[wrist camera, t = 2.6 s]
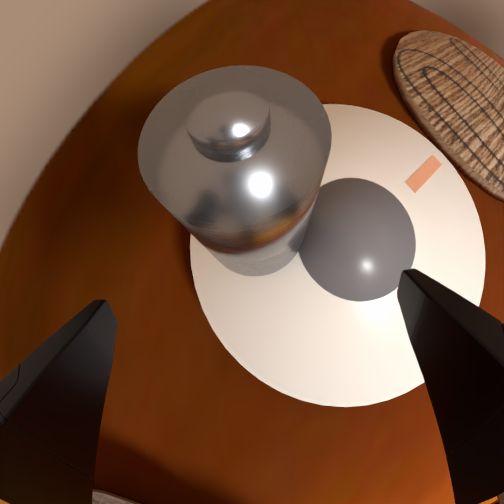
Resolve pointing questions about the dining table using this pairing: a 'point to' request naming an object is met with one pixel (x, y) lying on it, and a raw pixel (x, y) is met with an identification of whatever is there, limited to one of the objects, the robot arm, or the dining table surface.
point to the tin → (109, 498)
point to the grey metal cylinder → (239, 163)
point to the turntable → (351, 269)
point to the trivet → (456, 103)
